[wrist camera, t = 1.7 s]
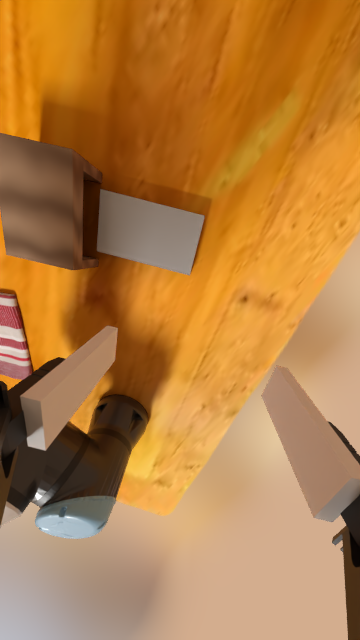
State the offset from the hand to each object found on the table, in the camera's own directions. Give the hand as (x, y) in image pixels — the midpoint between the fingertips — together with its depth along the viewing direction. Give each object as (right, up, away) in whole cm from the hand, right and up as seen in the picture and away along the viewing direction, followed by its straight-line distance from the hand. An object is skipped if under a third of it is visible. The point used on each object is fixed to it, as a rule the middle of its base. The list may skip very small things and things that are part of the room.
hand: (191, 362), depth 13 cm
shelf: (-21, +22, +22) cm, 38 cm away
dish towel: (-48, -1, +34) cm, 59 cm away
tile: (-6, +19, +22) cm, 30 cm away
